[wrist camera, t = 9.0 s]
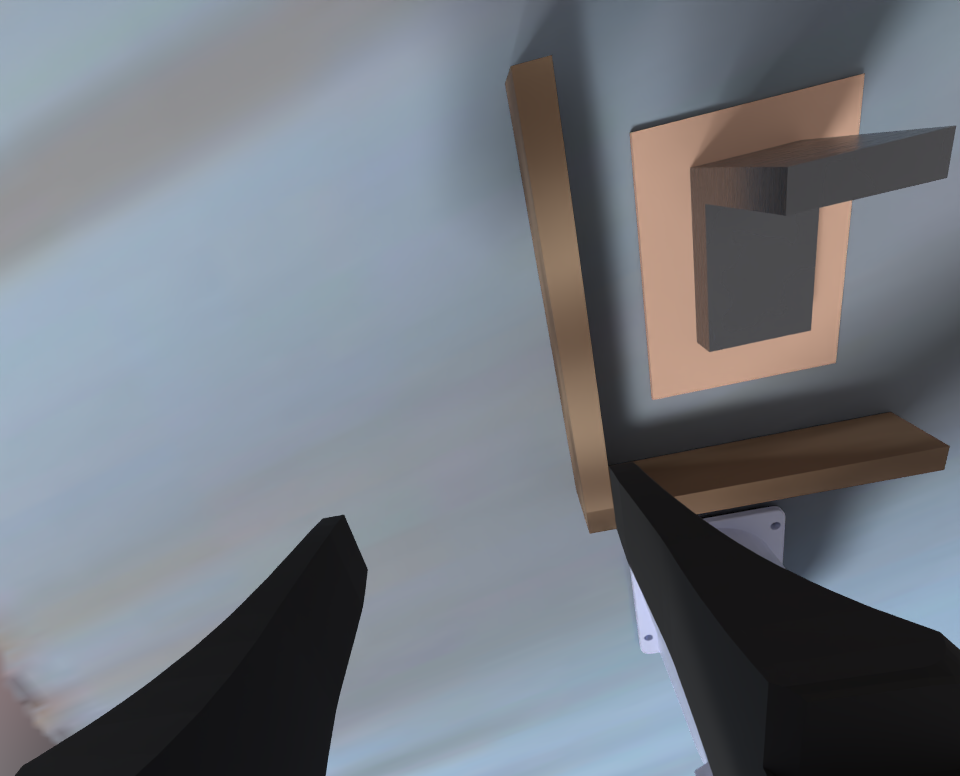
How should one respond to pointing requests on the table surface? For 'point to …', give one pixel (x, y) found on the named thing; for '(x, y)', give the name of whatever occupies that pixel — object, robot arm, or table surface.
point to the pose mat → (670, 241)
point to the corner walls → (685, 475)
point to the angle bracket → (787, 223)
